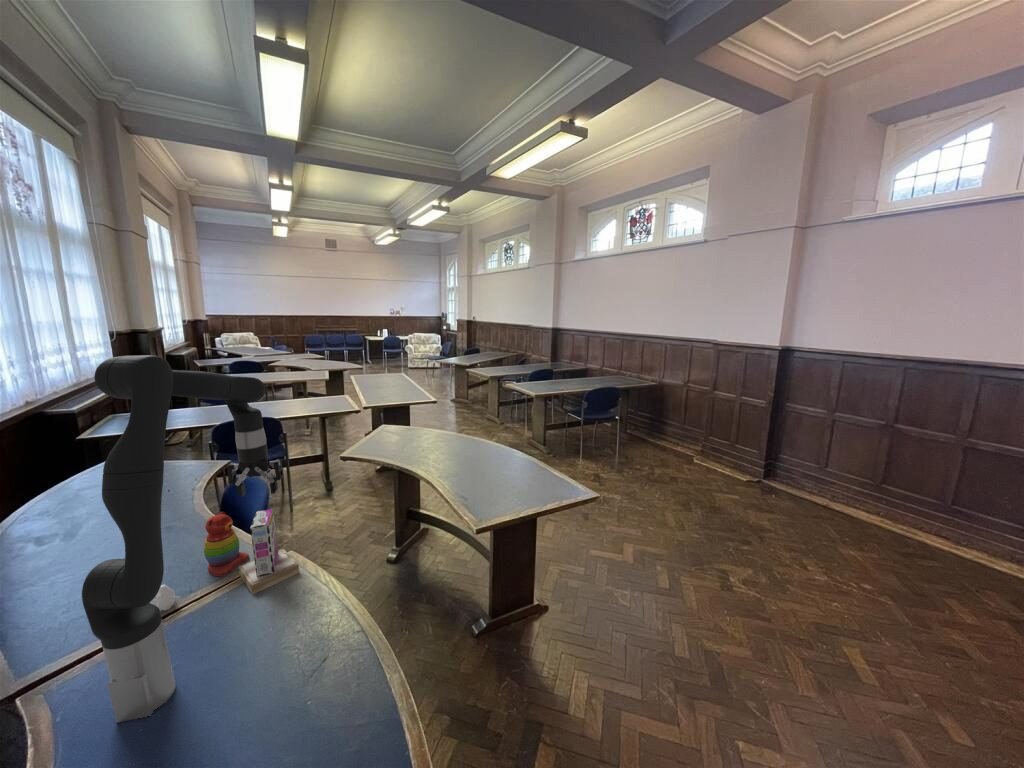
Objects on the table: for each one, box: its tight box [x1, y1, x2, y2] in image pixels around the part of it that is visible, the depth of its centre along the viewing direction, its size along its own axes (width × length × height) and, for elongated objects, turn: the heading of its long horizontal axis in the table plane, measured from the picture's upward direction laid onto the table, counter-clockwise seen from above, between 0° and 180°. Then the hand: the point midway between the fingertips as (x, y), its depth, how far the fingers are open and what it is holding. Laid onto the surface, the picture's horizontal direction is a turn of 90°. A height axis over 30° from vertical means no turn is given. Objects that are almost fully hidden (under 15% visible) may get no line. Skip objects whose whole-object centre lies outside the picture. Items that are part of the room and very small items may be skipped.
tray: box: [238, 548, 300, 595], centre depth 127 cm, size 13×13×3 cm
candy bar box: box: [249, 508, 279, 577], centre depth 125 cm, size 11×5×16 cm, turn 24°
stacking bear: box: [203, 511, 250, 577], centre depth 130 cm, size 11×10×18 cm
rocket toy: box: [150, 583, 182, 611], centre depth 112 cm, size 5×5×8 cm
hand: (258, 494), depth 122 cm, fingers open, 8 cm apart
